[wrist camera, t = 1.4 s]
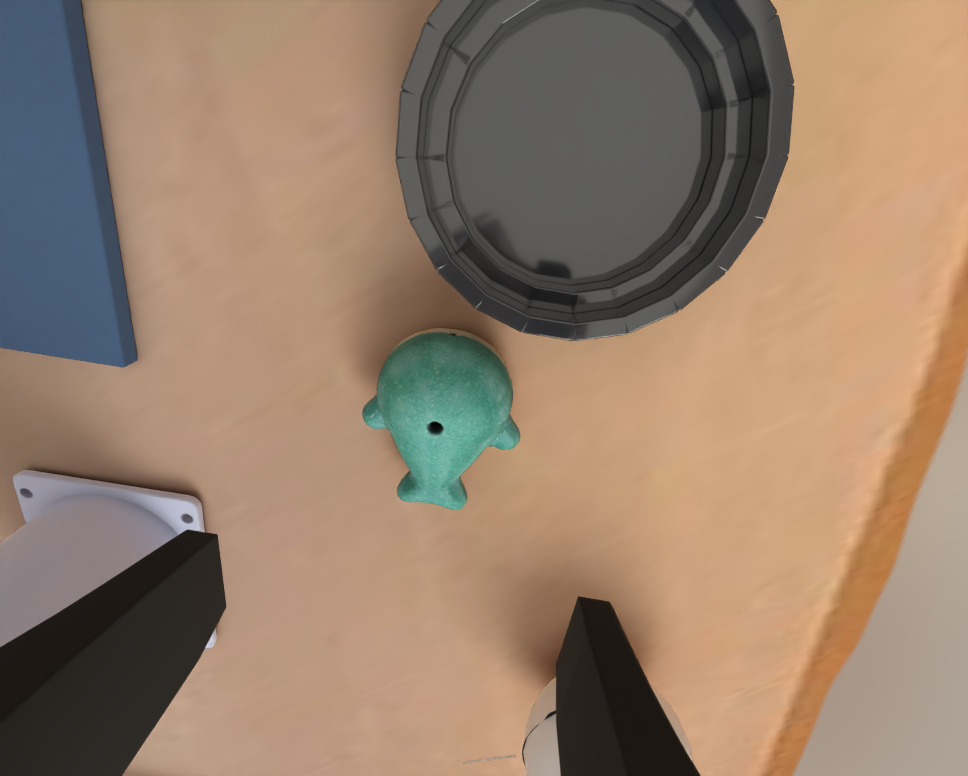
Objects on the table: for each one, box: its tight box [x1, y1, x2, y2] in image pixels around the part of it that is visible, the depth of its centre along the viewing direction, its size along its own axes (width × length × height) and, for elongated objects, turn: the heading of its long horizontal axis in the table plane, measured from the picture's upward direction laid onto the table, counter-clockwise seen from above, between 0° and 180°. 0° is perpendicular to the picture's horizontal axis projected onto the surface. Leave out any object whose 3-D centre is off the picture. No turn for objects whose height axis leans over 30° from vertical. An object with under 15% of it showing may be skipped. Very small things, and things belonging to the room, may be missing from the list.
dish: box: [396, 0, 794, 341], centre depth 14 cm, size 10×10×2 cm
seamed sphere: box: [463, 677, 693, 776], centre depth 22 cm, size 10×7×7 cm
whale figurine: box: [362, 328, 520, 510], centre depth 18 cm, size 6×7×4 cm
